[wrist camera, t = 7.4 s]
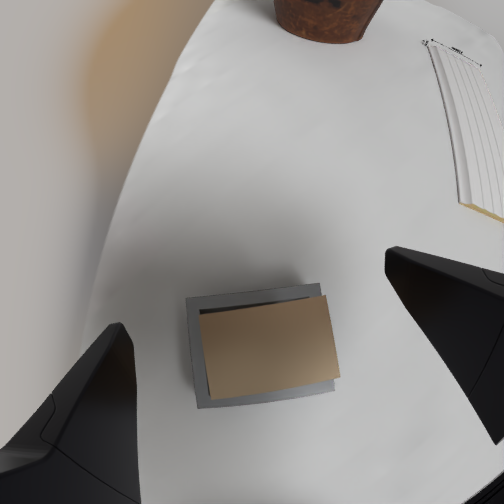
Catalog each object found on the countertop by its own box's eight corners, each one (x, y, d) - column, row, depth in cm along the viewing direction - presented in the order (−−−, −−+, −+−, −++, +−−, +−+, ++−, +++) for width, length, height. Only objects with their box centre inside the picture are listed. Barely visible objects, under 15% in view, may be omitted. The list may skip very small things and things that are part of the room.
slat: (293, 363, 20) (340, 377, 10) (229, 374, 20) (211, 399, 10) (286, 322, 21) (325, 294, 11) (222, 332, 21) (198, 314, 10)
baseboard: (444, 201, 26) (517, 233, 26) (459, 188, 23) (532, 224, 23) (418, 45, 35) (476, 74, 35) (424, 32, 33) (483, 63, 32)
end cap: (322, 385, 20) (334, 390, 17) (204, 400, 20) (197, 408, 17) (309, 292, 23) (319, 282, 20) (194, 305, 22) (185, 298, 19)
